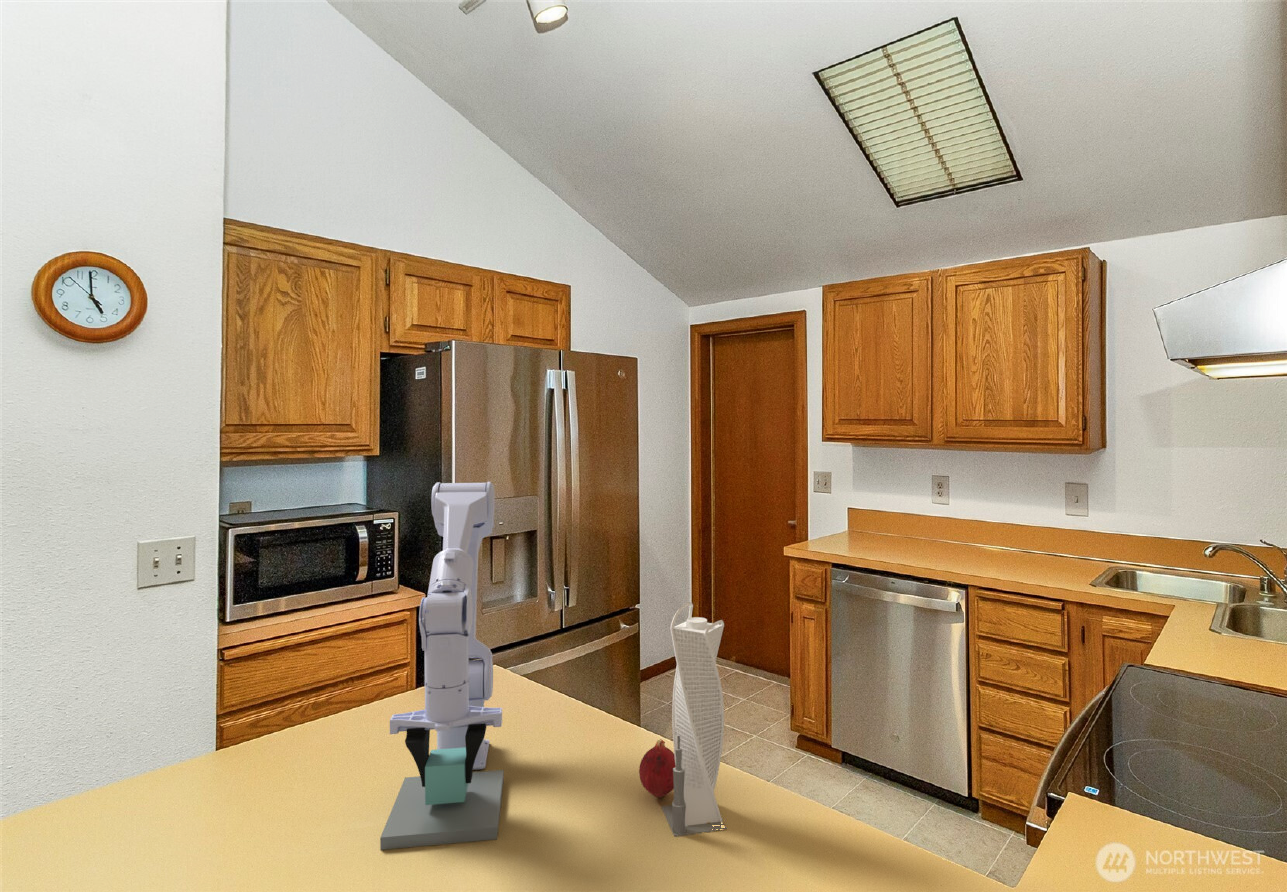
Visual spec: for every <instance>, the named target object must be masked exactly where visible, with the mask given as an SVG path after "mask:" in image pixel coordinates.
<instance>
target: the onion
mask: <svg viewBox="0 0 1287 892" xmlns="http://www.w3.org/2000/svg"><path fill="white" fill-rule="evenodd" d="M665 744H666V742H665V741H664V740H663V739H661V738H660V739H659V740H656V743H655V745H654V746H653V747H651V748H650V749H648V751H646V753H645V754H644V755H643V757H642V759H641V761H640V762H639V763H640V764H639V766H638V767H639V768H638V773H639V780H640V782H641V785H642V787H643V788H644V789H645V790H646V791H647V792H648V793H649V794H651V795H652V796H654V797H656V798H658V799H663V798H664V797H665V796H667V795H669V794H670V793H671V792H672V791H674V781H673V768H675V767H676V765H675V756H674V751H672V749H670V748H668V747H667V746H665Z"/></svg>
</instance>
